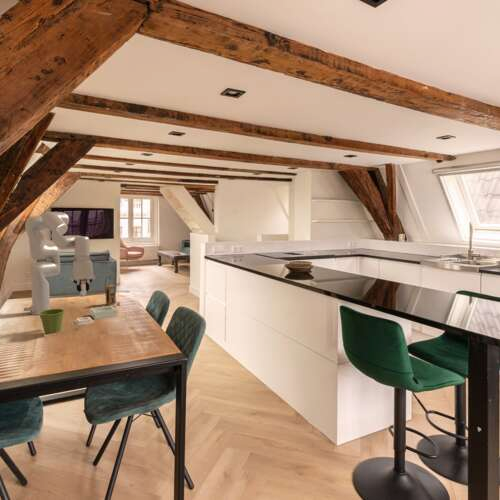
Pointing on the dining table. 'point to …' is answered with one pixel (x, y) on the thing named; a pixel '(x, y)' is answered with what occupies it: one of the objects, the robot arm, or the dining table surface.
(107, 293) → the multimeter
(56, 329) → the plant pot
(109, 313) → the white open box
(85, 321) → the checker cradle
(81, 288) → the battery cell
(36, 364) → the dining table surface
